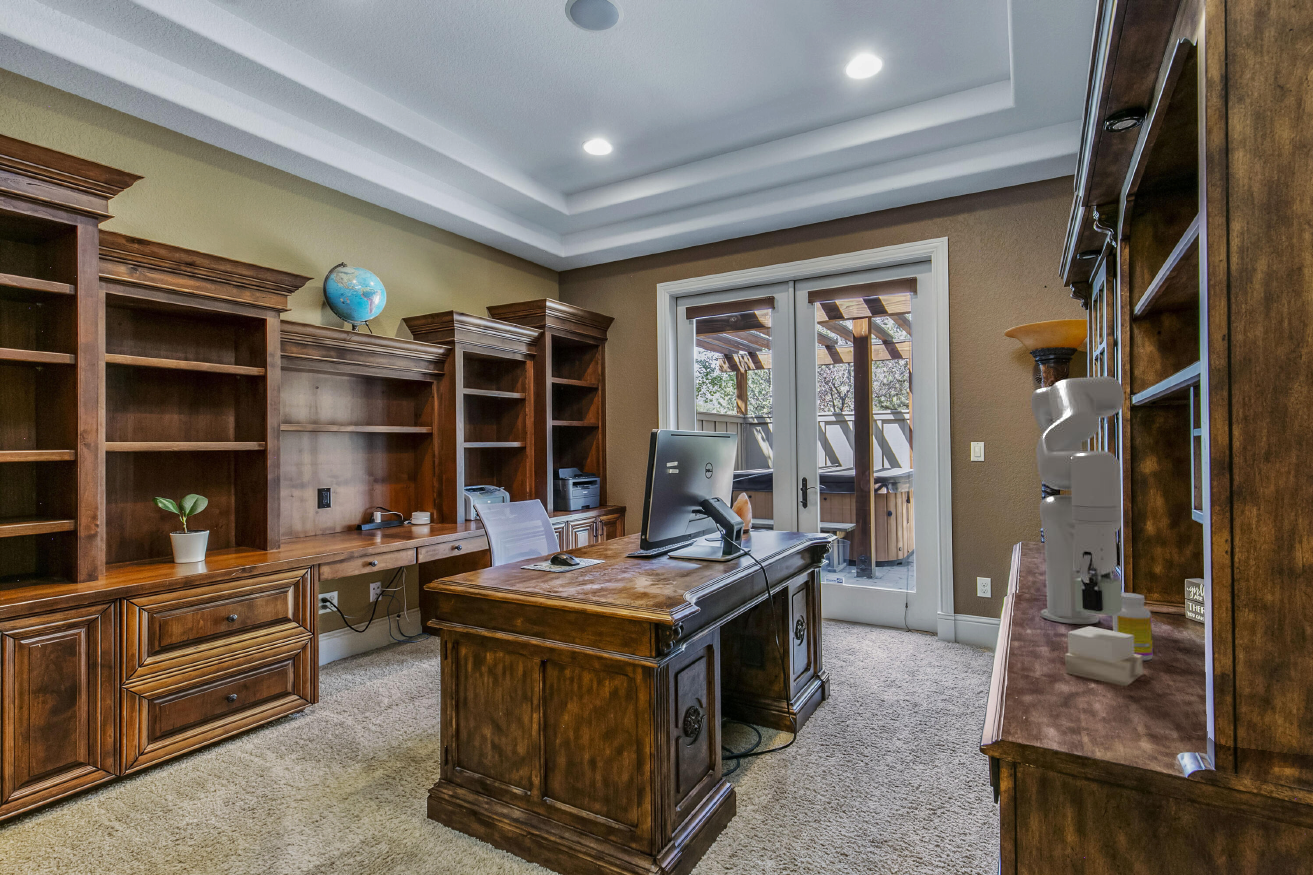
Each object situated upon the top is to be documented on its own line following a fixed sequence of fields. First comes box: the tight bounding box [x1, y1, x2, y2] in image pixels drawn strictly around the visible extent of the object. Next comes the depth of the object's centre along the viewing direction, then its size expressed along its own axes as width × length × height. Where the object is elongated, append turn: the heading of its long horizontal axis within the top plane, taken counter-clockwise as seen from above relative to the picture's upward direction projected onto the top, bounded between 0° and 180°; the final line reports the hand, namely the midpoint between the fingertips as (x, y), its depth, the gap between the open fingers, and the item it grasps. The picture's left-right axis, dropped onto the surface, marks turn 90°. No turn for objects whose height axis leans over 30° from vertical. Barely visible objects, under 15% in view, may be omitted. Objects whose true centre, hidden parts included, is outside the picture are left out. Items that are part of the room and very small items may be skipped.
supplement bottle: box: [1111, 592, 1154, 661], centre depth 136 cm, size 7×7×13 cm
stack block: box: [1075, 577, 1122, 617], centre depth 127 cm, size 6×6×6 cm
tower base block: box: [1064, 652, 1144, 687], centre depth 127 cm, size 10×10×4 cm
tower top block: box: [1067, 625, 1134, 663], centre depth 127 cm, size 8×8×4 cm
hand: (1098, 606), depth 127 cm, fingers closed on stack block, 6 cm apart
